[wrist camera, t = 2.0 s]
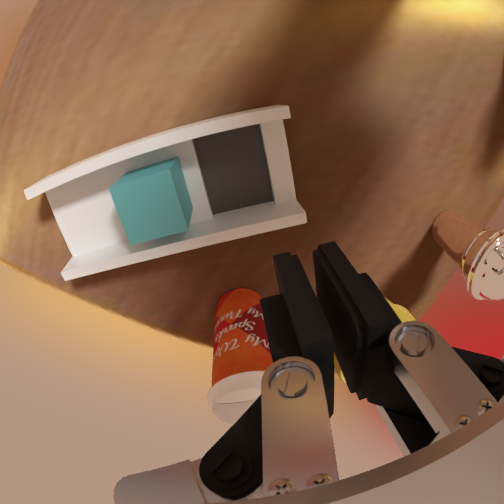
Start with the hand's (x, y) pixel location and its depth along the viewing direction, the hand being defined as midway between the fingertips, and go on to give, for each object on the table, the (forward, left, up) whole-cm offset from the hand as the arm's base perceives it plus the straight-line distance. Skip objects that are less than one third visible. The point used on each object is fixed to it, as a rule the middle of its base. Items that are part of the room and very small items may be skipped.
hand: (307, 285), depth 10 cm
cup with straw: (+12, +24, -19) cm, 33 cm away
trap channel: (0, -8, -19) cm, 21 cm away
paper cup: (+16, -4, -19) cm, 25 cm away
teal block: (0, -8, -18) cm, 20 cm away
